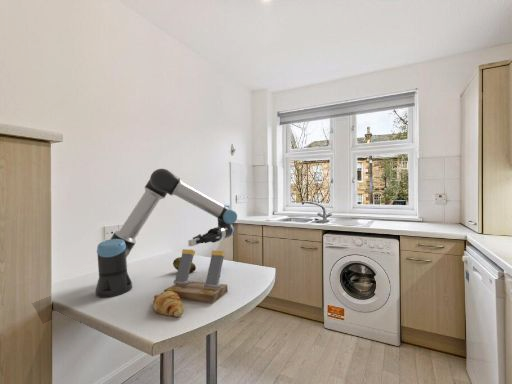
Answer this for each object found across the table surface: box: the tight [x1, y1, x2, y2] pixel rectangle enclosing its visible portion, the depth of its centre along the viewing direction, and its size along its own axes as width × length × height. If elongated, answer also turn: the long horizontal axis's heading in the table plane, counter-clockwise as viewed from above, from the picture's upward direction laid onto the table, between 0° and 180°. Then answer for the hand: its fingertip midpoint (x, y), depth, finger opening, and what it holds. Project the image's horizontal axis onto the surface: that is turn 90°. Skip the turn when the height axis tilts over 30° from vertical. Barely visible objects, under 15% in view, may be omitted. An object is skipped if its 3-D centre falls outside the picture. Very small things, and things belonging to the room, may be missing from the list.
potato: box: [172, 256, 197, 274], centre depth 146 cm, size 8×13×8 cm, turn 53°
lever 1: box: [173, 248, 196, 285], centre depth 119 cm, size 2×6×15 cm, turn 66°
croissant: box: [152, 290, 184, 318], centre depth 100 cm, size 21×10×8 cm, turn 44°
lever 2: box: [204, 250, 226, 288], centre depth 113 cm, size 2×6×15 cm, turn 66°
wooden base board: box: [163, 280, 228, 304], centre depth 113 cm, size 12×24×3 cm, turn 68°
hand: (190, 243), depth 124 cm, fingers closed
